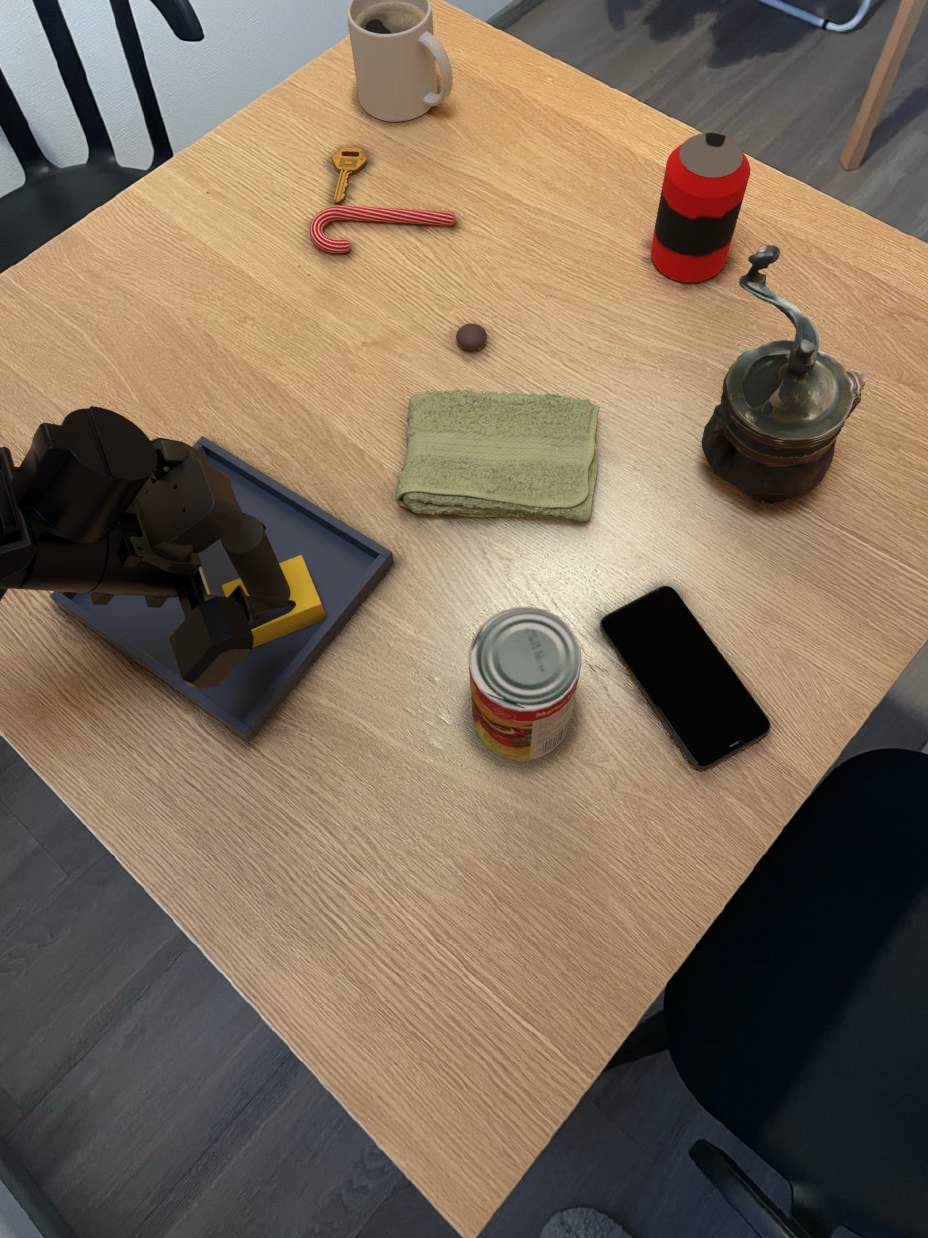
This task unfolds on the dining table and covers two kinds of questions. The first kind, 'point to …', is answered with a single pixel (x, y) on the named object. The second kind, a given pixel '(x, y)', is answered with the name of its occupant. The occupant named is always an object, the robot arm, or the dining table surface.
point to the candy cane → (370, 215)
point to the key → (347, 168)
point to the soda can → (699, 207)
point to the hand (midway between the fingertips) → (277, 567)
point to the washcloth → (499, 455)
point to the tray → (293, 528)
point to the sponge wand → (271, 580)
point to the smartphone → (684, 677)
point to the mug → (397, 58)
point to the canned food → (523, 681)
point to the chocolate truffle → (471, 336)
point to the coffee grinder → (779, 406)
